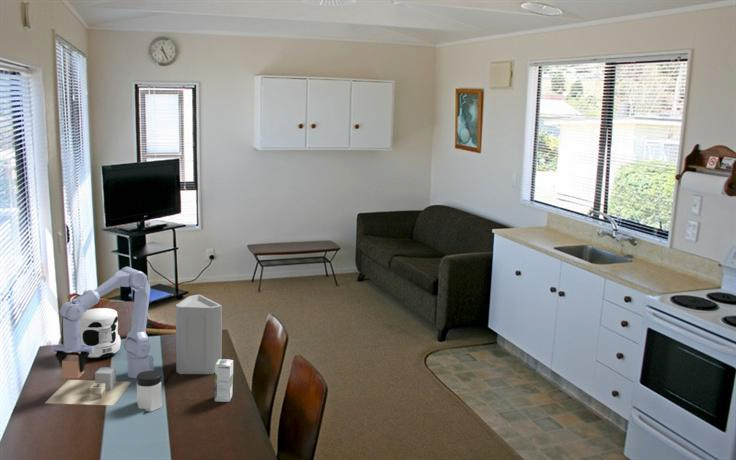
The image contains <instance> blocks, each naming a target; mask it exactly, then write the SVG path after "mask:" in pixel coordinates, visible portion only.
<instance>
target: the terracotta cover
mask: <svg viewBox="0 0 736 460" xmlns="http://www.w3.org/2000/svg"><path fill="white" fill-rule="evenodd" d="M78 355H79V354H67V357H66V358H64V359H63V360H62V367H61V369H62V370H61V373H62V374H61V376H62V378H63V379H80V377H81V376H83V374H84V373H85V370H84V371H83V372H80V363H79V358H78Z"/></svg>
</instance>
